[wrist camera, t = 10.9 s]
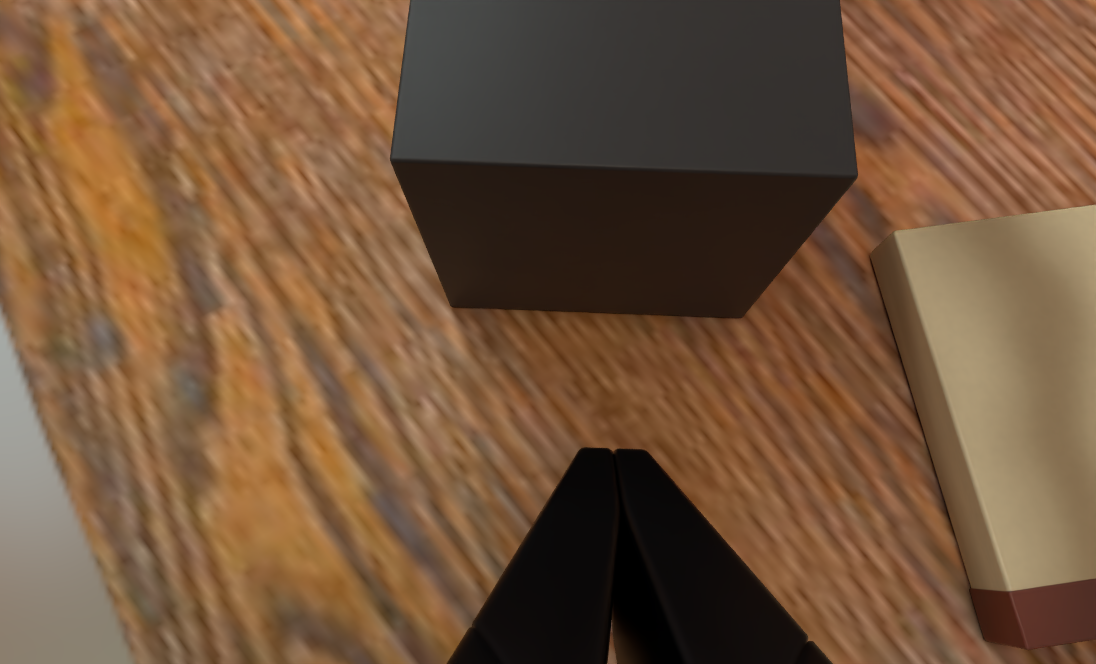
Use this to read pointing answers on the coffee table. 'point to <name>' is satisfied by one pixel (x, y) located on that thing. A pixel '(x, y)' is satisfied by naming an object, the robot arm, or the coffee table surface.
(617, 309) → the block
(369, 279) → the coffee table surface
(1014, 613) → the notebook
